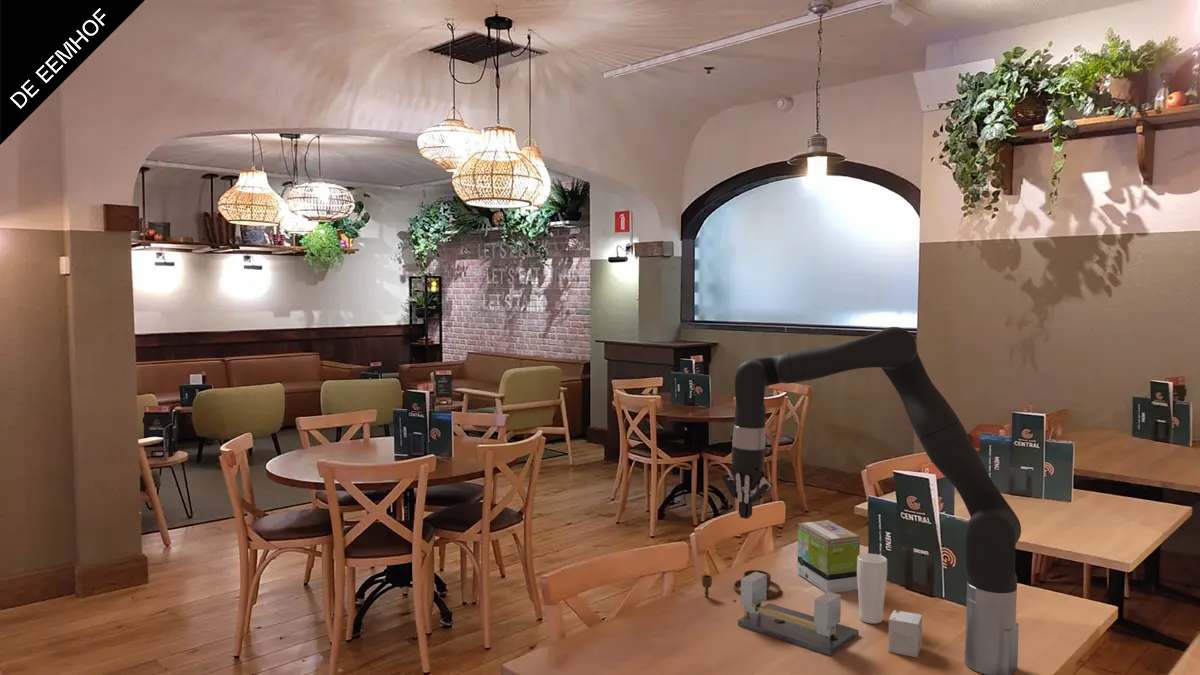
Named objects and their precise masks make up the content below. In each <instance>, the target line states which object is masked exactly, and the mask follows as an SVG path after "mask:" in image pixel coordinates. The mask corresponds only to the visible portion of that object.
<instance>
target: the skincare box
mask: <svg viewBox="0 0 1200 675" xmlns="http://www.w3.org/2000/svg"><path fill="white" fill-rule="evenodd" d="M922 620H923V615H922V614H919V613H914V612H907V611H902V610H896V609H894V610H893V611H892V613H891V614H890V616H889V618H888V641H887V642H888V644H887V645H888V647H887V648H888V649H887V651H888V652H889V653H893V654H898V655H903V656H907V657H912V658H918V657H919V653H920V651H921V649H922V638H923V637H922V633H923V632H922V631H923V627H922V626H923V625H922V624H923V621H922Z"/></svg>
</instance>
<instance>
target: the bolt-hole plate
mask: <svg viewBox="0 0 1200 675" xmlns="http://www.w3.org/2000/svg"><path fill="white" fill-rule="evenodd" d="M763 607H766V608H769V609H773V610H776V611H779V612H782V613H786V614H789V615H792V616H795V617H799V618H802V619H805V620H808V621H812V622H814V615H810V614H807V613H803V612H800V611H797V610H794V609H790V608H787V607H784V606H780V605H776V604H774V603H770V602H768V603H766V604H765V605H763ZM737 626H739V627H742V628H745V629H747V630H751V631H755V632H757V633H760V634H762V635H766V636H769V637H772V638H775V639H778V640H781V641H784V642H787V643H790V644H793V645H797V646H799V647H802V648H804V649H809V650H810V651H811V650H812V651H813V652H816V653H819V654H824V655H826V656H829V657H831V656H833V654H835V653H836V652H838V651H839V650H841V649H842V648H843V647H844V646H846V645H847V644H849V643H850V642H851V641H853V640H854V639H856V638H857V637H858V636H859V633H860V632H859V629H857V628H853V627H849V626H847V625H843V624H840V623H838V624H836V628H835V637H834V639H831V638H830V637H828V636H824V635H821V634H818V633H817V631H815V630H812V629H809V628H806V627H803V626H799V625H796V624H793V623H790V622H787V621H784V620H780V619H777V618H774V617H771V616H768V615H764V614H757V612H756V613H752V612H750V617H748V618H745V617H744V616H743V617H741V618H740V619H738V620H737Z"/></svg>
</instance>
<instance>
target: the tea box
mask: <svg viewBox="0 0 1200 675" xmlns="http://www.w3.org/2000/svg"><path fill="white" fill-rule="evenodd" d="M860 545H861V536H860V535H858V534H856V533H855V532H852V531H850V530H848V529H847V528H844V527H843V526H841V525H838V524H837V523H834V522H832V521H831V520H830V519H826V520H817V521H807V522H802V523H801V522H798V523H797V575H799V576H801V577H802V578H804V579H805V580H807V581H809V582H810V583H811V584H813V585H814V586H815V587H818V588H819V589H820V590H822V591H823V592H824V593H827V592H832V593H835V594H838V593H843V592H851V591H858V585H857V557H858V555H860V554H861V552H860V551H861V550H860V548H861V547H860Z"/></svg>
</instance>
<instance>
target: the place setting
mask: <svg viewBox="0 0 1200 675" xmlns="http://www.w3.org/2000/svg"><path fill="white" fill-rule="evenodd" d="M754 572H759V573H763V574H766V575H767V590H768V589H770V587H771V588H773V589H775V592H772V593H766V600H767V599H773V598H775V597H777V596H778V595H779V594H780V592H781V586H780V585H779V584H778V583H776V582H774V581H772V579H771V577H772V576H771V574H770V573H769V572H767V571H764V570H758V569H751V570H746V571H744V573H743V577H746V576H748V575H750V574H752V573H754ZM701 577H702V578H701V584H702V587H703V588H704V589H705V590H704V595H705V596H704V598H705V599H709V598H710V597H709V594H710V592H709V588H711V587H712V583H713V581H712V580H713V577H712V575H709V574H703V575H702V576H701ZM739 587H741V578H740V579H738V580H736V581H735V582H734V583H733V590H734V591H735V592H736V593H737V594H738V595H740V596H741V589H738V588H739ZM732 601H733V602H734V603H737V599H733V600H732Z"/></svg>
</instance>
